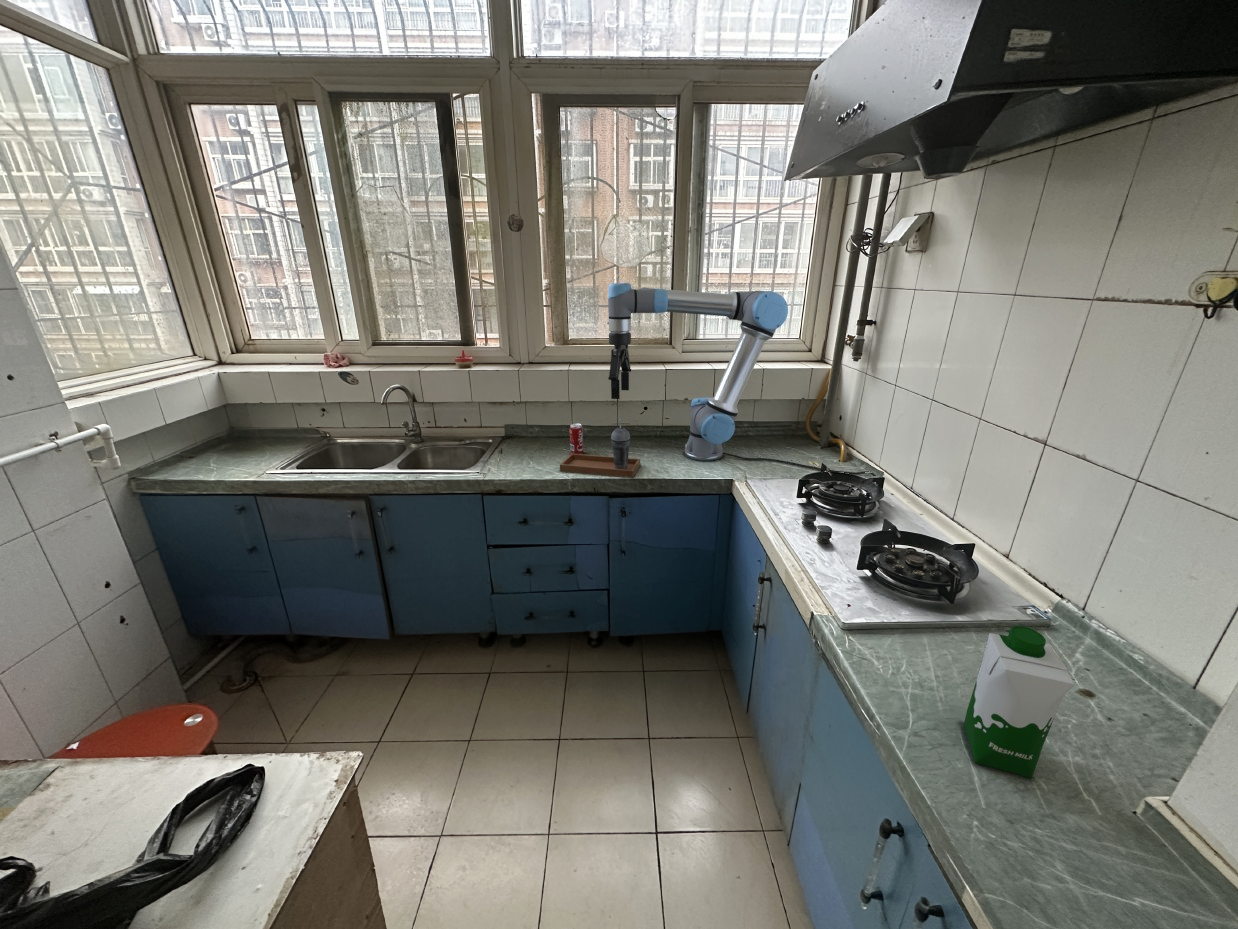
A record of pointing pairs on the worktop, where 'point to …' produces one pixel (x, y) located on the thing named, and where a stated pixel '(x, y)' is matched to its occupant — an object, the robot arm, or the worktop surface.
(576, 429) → the soda can
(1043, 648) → the milk carton
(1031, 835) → the worktop surface
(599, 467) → the tray
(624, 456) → the beverage cup
